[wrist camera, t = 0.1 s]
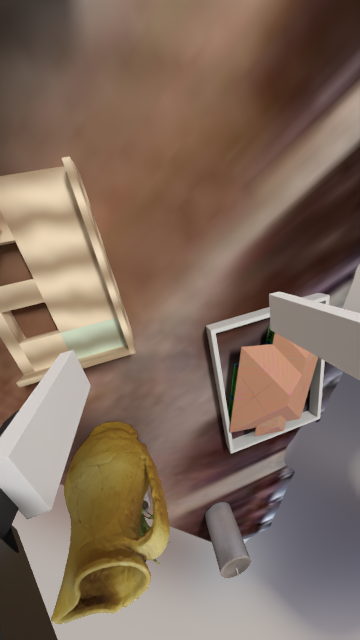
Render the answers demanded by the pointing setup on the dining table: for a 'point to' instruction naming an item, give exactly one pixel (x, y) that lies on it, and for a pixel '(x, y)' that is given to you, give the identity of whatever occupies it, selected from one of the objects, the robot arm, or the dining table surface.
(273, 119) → the dining table surface
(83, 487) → the pitcher
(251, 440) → the serving tray rim
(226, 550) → the pillar candle
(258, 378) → the house
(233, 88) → the dining table surface
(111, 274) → the cube sorting tray
